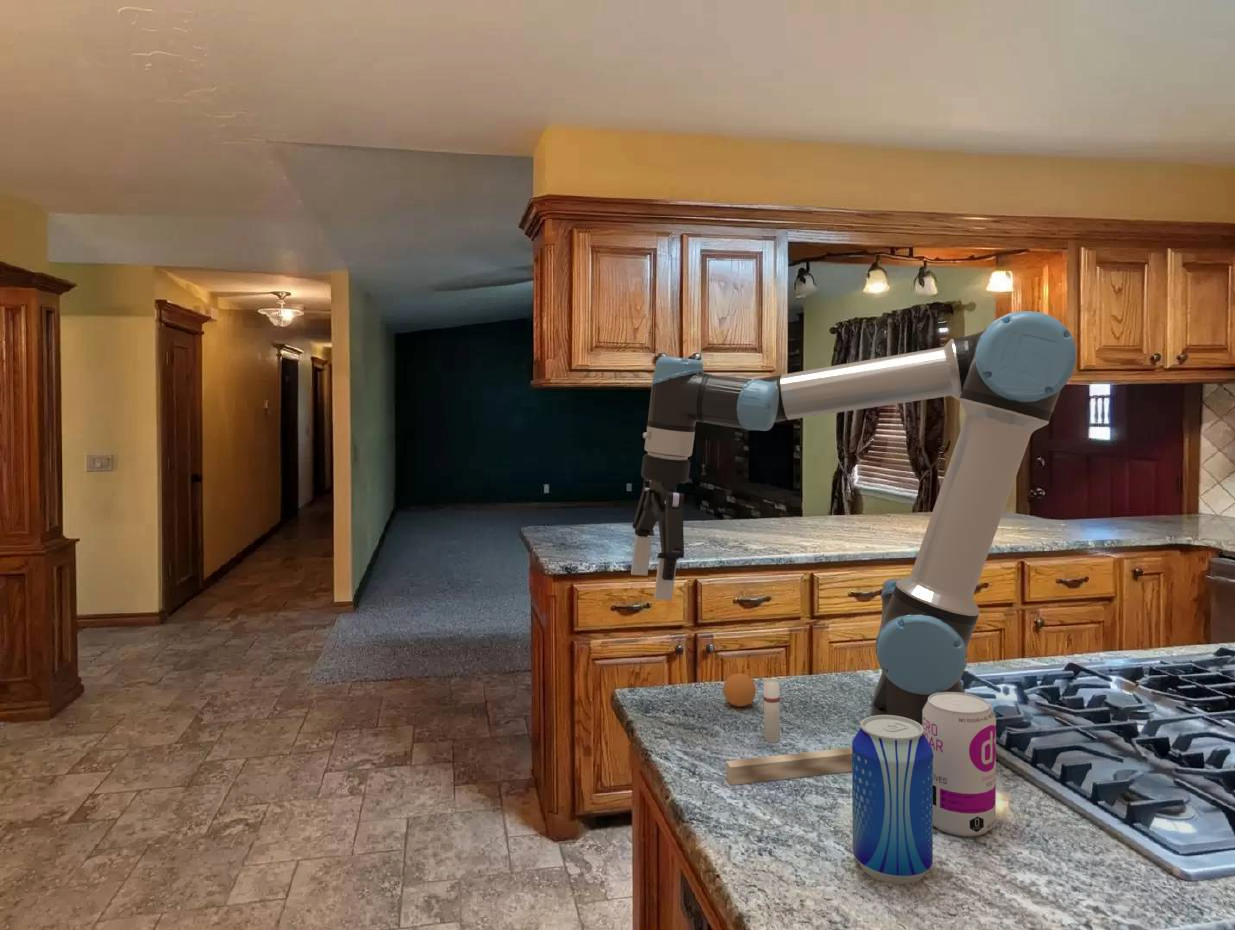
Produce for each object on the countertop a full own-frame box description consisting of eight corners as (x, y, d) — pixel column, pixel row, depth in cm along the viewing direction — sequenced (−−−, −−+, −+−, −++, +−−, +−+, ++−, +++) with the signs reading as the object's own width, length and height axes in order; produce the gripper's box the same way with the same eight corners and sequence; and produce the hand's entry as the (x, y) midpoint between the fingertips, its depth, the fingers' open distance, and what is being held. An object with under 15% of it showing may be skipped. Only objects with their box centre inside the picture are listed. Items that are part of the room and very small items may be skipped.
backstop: (873, 762, 118) (873, 745, 118) (880, 767, 116) (880, 750, 116) (726, 778, 114) (725, 761, 114) (730, 785, 112) (730, 767, 112)
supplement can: (1008, 824, 100) (1009, 703, 99) (968, 846, 95) (969, 719, 94) (948, 799, 106) (949, 685, 105) (908, 818, 102) (908, 700, 101)
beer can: (939, 891, 86) (939, 743, 85) (856, 884, 88) (855, 739, 87) (925, 849, 95) (925, 713, 93) (850, 843, 96) (849, 710, 95)
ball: (761, 703, 142) (760, 672, 142) (747, 713, 137) (747, 681, 137) (732, 697, 145) (731, 667, 145) (718, 707, 141) (717, 676, 140)
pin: (783, 738, 127) (782, 681, 126) (776, 744, 125) (775, 686, 124) (767, 735, 128) (767, 678, 128) (761, 740, 126) (760, 683, 126)
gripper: (624, 443, 141) (609, 564, 143) (668, 465, 117) (649, 609, 119) (666, 447, 142) (650, 566, 145) (717, 469, 118) (698, 611, 121)
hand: (650, 586), depth 132 cm, fingers open, 13 cm apart
